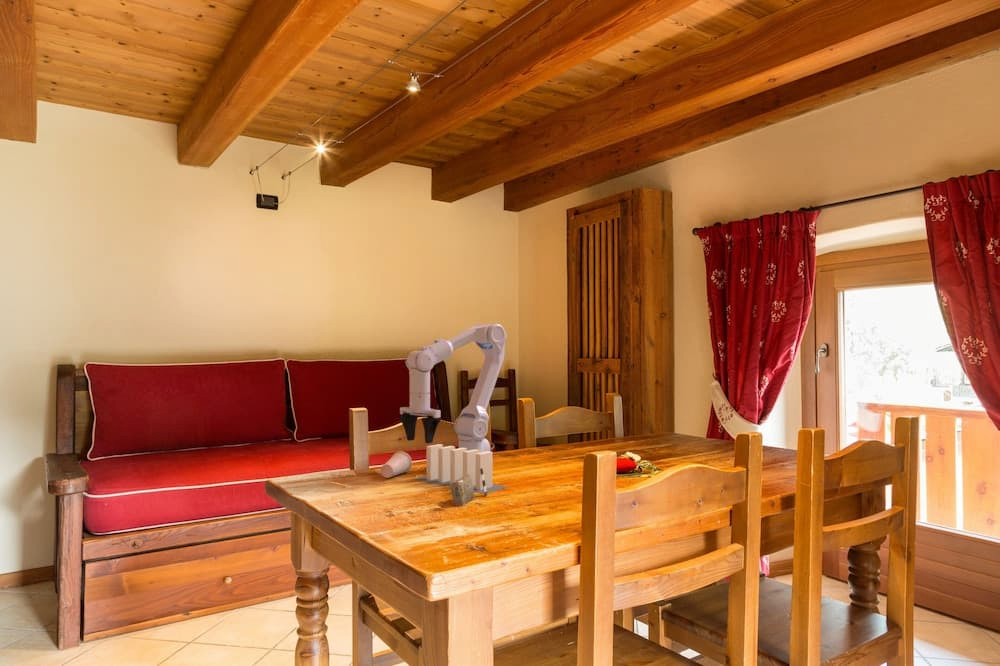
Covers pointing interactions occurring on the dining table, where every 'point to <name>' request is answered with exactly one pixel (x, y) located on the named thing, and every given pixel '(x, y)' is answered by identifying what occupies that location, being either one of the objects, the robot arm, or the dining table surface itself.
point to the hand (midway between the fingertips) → (419, 441)
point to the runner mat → (447, 484)
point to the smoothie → (396, 464)
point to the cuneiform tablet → (465, 489)
